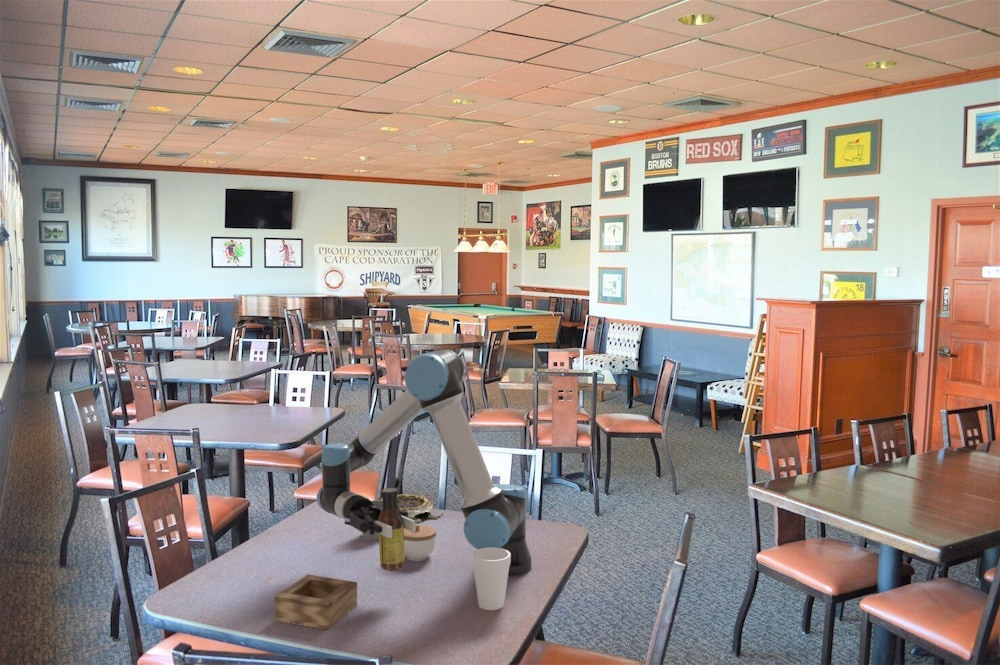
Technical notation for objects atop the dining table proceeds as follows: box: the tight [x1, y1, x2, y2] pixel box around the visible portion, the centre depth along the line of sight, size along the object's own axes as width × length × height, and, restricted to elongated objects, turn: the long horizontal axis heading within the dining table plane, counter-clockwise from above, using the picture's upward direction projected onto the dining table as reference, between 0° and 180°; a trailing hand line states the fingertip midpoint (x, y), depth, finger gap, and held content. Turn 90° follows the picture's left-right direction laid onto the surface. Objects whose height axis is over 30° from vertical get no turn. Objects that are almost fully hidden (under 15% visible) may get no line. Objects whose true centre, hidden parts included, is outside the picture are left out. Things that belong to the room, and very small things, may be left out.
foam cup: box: [472, 547, 511, 611], centre depth 193 cm, size 10×9×13 cm
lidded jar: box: [403, 524, 437, 562], centre depth 225 cm, size 11×11×9 cm
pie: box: [374, 493, 444, 524], centre depth 267 cm, size 28×27×5 cm
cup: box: [361, 499, 383, 541], centre depth 243 cm, size 8×8×10 cm
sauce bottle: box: [378, 487, 406, 572], centre depth 196 cm, size 6×6×20 cm
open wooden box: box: [274, 574, 358, 631], centre depth 188 cm, size 14×14×6 cm
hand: (402, 529), depth 192 cm, fingers closed on sauce bottle, 6 cm apart
